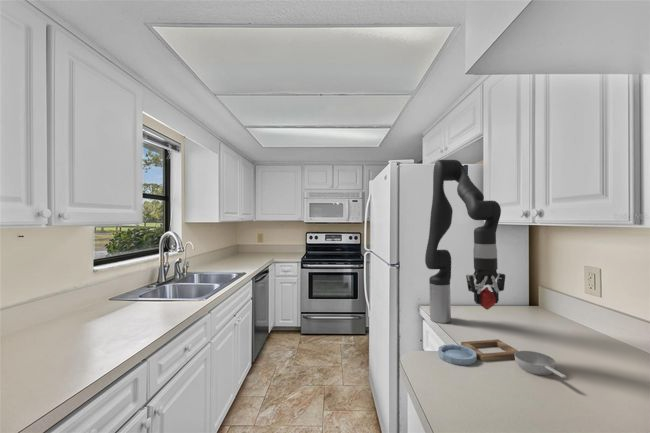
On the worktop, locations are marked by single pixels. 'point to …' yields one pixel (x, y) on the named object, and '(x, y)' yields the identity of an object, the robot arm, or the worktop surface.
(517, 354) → the saucepan
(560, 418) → the worktop surface
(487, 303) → the onion
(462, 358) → the dish
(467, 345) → the frame
